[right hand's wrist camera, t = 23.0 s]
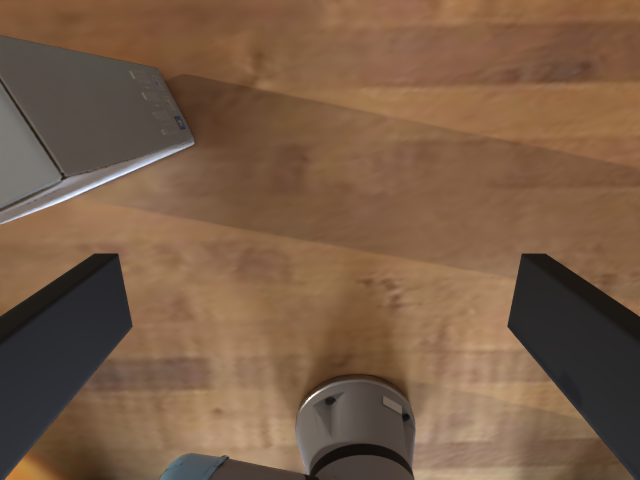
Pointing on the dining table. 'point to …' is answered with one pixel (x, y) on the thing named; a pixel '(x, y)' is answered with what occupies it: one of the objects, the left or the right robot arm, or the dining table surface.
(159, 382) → the dining table surface
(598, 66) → the dining table surface
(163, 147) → the hard drive box
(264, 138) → the dining table surface
